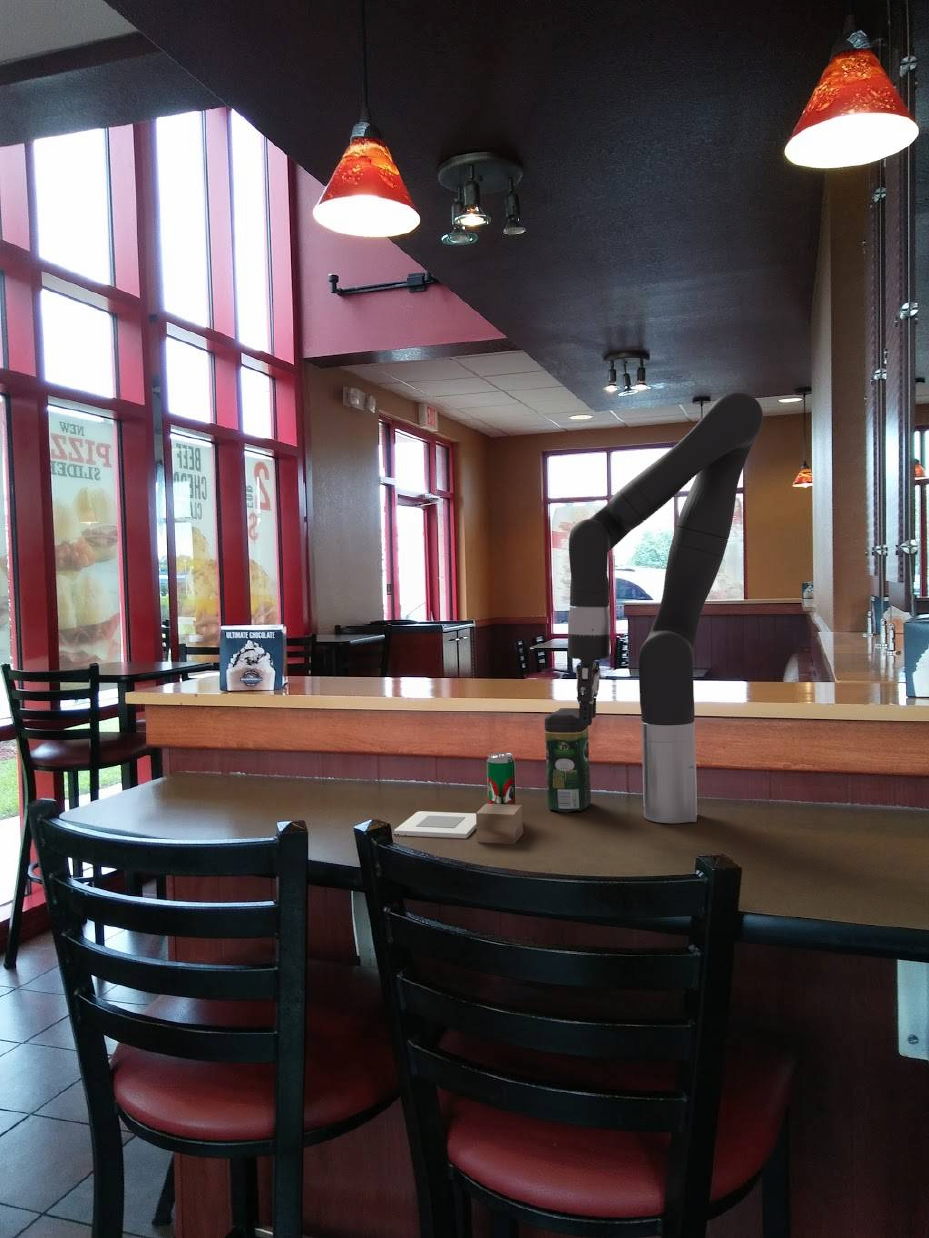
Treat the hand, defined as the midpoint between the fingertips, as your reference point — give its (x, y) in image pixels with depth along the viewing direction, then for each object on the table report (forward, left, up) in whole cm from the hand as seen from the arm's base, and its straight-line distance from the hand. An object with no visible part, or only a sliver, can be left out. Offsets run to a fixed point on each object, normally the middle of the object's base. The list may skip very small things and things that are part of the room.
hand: (587, 721), depth 166 cm
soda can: (+15, +6, -18) cm, 24 cm away
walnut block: (+13, +16, -17) cm, 27 cm away
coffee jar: (+5, -6, -18) cm, 19 cm away
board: (+25, +11, -17) cm, 32 cm away
